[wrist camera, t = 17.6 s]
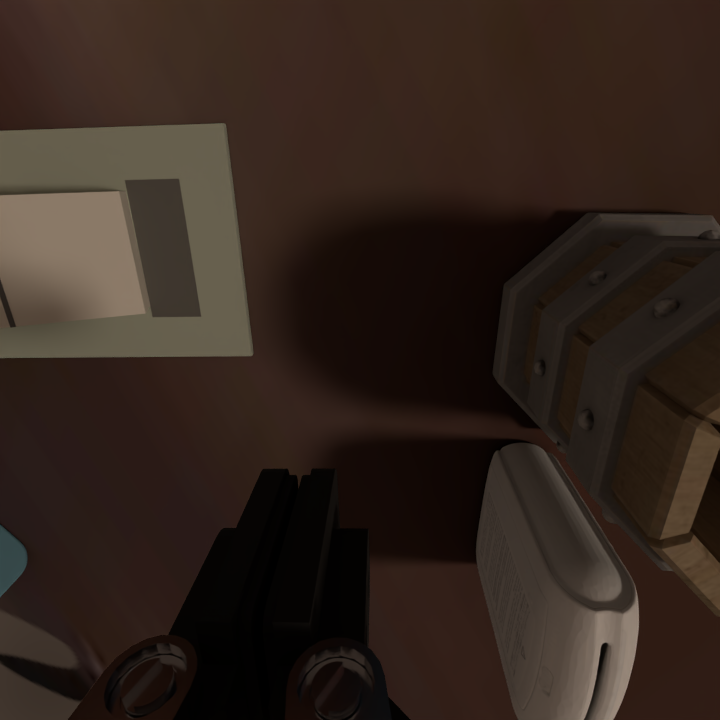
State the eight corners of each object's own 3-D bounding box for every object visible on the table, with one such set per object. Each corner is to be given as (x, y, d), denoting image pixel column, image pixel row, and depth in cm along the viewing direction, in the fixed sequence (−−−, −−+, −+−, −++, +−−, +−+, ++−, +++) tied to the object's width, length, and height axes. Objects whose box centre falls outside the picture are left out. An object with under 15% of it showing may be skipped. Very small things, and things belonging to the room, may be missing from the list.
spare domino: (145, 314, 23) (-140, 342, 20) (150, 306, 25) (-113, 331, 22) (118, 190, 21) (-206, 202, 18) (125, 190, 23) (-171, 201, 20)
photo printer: (530, 566, 31) (617, 789, 20) (468, 563, 31) (520, 783, 20) (558, 441, 27) (686, 625, 16) (488, 437, 28) (565, 619, 16)
